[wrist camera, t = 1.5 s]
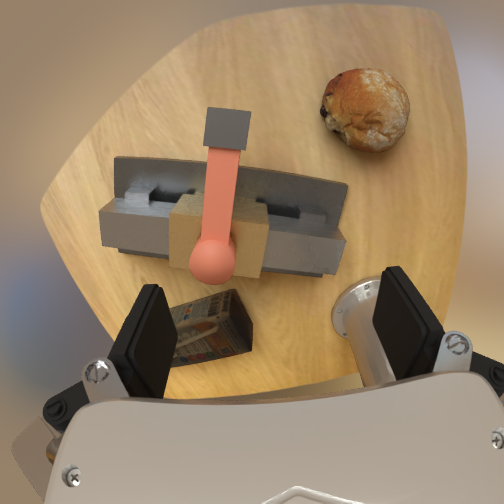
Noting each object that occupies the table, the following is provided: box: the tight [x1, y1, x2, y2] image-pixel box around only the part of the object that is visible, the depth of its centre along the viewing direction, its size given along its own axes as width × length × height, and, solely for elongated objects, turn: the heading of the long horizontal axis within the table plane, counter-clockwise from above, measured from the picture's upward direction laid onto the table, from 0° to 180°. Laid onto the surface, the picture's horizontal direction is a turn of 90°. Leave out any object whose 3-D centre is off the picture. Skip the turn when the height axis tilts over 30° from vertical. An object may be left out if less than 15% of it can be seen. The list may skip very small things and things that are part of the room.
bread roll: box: [320, 68, 410, 153], centre depth 26 cm, size 10×10×8 cm
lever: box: [189, 107, 251, 285], centre depth 23 cm, size 15×4×3 cm, turn 172°
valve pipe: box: [99, 156, 348, 278], centre depth 30 cm, size 28×13×8 cm, turn 82°
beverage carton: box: [169, 289, 253, 368], centre depth 40 cm, size 8×19×7 cm, turn 112°
